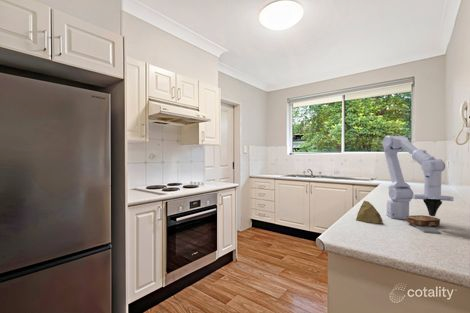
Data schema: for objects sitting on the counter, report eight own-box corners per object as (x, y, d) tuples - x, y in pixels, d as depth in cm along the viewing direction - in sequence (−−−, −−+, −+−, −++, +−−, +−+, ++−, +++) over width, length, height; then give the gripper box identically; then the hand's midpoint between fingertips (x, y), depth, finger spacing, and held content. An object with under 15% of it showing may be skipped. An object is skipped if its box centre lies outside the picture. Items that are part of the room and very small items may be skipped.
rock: (389, 218, 110) (369, 210, 119) (384, 205, 107) (364, 199, 116) (375, 233, 107) (356, 224, 116) (370, 221, 104) (351, 213, 113)
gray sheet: (423, 232, 97) (423, 230, 97) (408, 222, 111) (408, 220, 111) (440, 233, 95) (440, 231, 95) (422, 223, 110) (422, 221, 110)
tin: (419, 220, 102) (402, 214, 110) (419, 227, 102) (401, 220, 110) (445, 220, 105) (426, 214, 113) (444, 226, 105) (425, 220, 114)
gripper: (417, 186, 101) (417, 216, 101) (458, 188, 97) (457, 219, 97) (410, 184, 108) (410, 212, 108) (448, 185, 104) (447, 215, 104)
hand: (432, 215), depth 103 cm, fingers closed
